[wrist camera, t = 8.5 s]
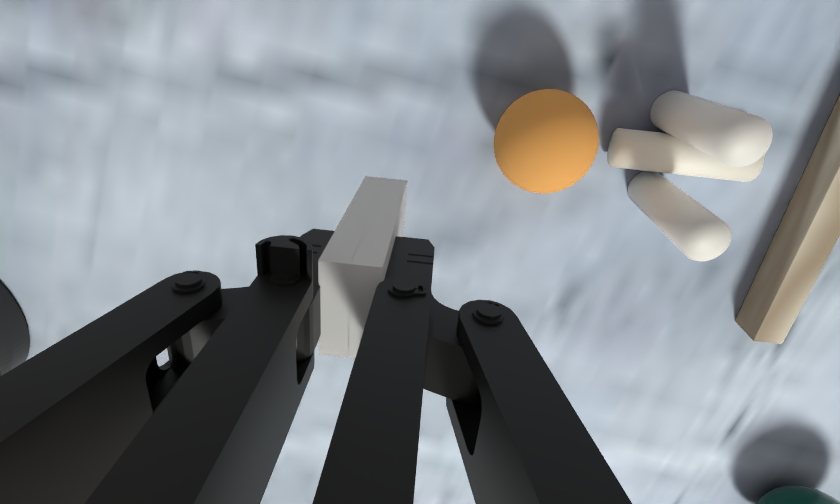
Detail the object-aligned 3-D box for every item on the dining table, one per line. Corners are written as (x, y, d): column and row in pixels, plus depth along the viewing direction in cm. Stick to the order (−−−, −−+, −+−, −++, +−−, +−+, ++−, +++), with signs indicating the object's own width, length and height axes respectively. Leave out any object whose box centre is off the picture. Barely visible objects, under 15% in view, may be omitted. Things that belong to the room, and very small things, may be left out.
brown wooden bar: (734, 320, 36) (753, 340, 34) (908, -53, 25) (952, -60, 23) (761, 323, 36) (781, 343, 33) (946, -50, 25) (994, -57, 23)
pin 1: (645, 128, 30) (709, 164, 22) (656, 88, 29) (727, 113, 21) (683, 131, 30) (760, 169, 22) (696, 92, 29) (781, 117, 21)
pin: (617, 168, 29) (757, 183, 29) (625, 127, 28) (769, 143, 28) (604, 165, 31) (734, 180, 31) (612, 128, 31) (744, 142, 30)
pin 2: (623, 203, 32) (675, 258, 25) (633, 168, 31) (690, 216, 24) (658, 206, 32) (721, 263, 25) (669, 172, 31) (738, 220, 24)
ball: (604, 207, 26) (569, 184, 32) (627, 94, 24) (585, 91, 30) (497, 201, 26) (481, 178, 32) (512, 86, 24) (492, 84, 30)
